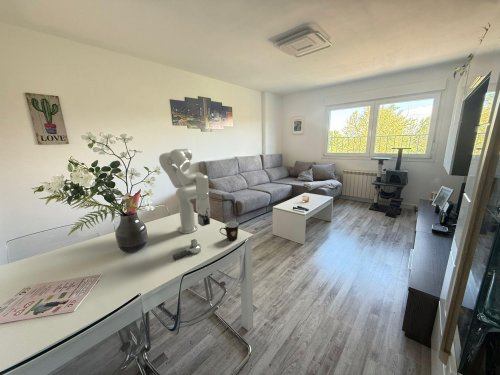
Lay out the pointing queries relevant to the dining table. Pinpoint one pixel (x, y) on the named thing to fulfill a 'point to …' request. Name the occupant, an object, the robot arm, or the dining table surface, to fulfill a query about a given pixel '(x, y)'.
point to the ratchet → (189, 250)
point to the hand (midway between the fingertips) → (204, 222)
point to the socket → (202, 219)
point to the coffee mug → (231, 230)
